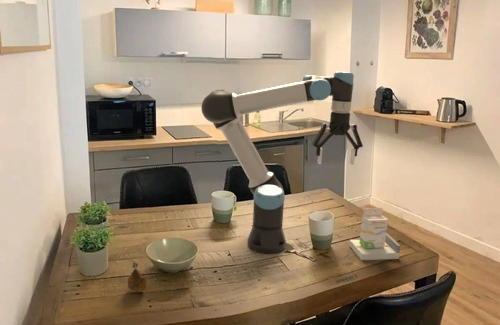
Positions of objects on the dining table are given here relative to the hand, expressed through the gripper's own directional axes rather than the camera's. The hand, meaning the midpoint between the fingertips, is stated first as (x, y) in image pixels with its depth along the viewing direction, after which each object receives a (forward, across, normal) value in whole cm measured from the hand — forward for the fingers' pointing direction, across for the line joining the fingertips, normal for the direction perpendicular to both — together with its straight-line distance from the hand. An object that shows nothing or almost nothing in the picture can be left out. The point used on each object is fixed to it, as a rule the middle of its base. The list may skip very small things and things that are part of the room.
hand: (335, 163), depth 190 cm
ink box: (+29, +12, -16) cm, 35 cm away
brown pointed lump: (+32, -76, -39) cm, 92 cm away
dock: (+31, +13, -16) cm, 38 cm away
